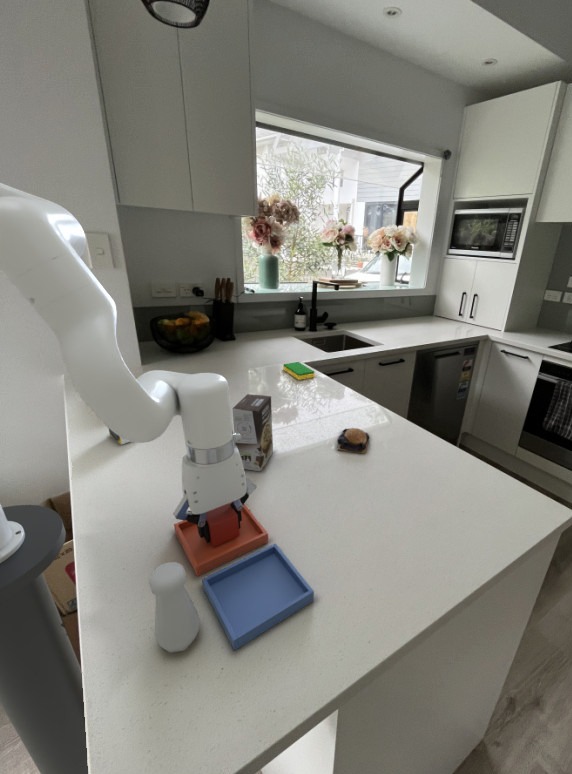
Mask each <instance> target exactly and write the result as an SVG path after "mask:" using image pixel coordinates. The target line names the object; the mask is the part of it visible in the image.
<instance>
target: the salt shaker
mask: <svg viewBox="0 0 572 774" xmlns="http://www.w3.org/2000/svg"><path fill="white" fill-rule="evenodd" d="M186 581H187V572H186V570H185V567H184V566H183V564H181V563H179V562H177V561H176V562H175V561H168V562H165V563H164V562H163V563H162V564H160V565H158V566H157V567H156V568H154V570H153V571H152V572H151V573H150V576H149V579H148V585H149V588H150V592H151V593H152V595H154V596H155V611H154V637H155V640H156V643H157V644H158V646H160V647H161V648H162V649H163V650H165V651H167V652H168V653H170V654H172V653H178V652H183V651H186V650H187V649H188V648H189V646H190V645H191V644H192V643H193V642H194V641H195V640H196V638H197V635H198V634H199V631H200V627H201V626H200V624H201V618H200V615H199V613H198V610H197V608H196V607H195V605H194V603H193V600H192V598H191V596H190V595H189V592H188V590H187V588H186V586H185V584H186Z"/></svg>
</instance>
